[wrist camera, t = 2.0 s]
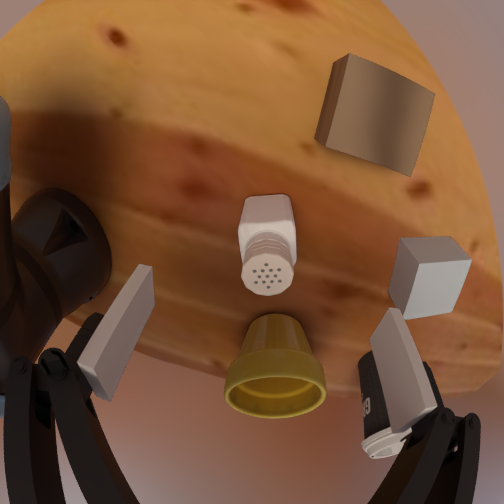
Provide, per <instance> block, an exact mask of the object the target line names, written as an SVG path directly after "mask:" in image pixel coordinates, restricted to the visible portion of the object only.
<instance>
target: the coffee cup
mask: <svg viewBox="0 0 504 504" xmlns="http://www.w3.org/2000/svg"><path fill="white" fill-rule="evenodd" d="M358 368H359V376H360V385H361V395H362V406H363V418H364V436H365V440H364V441H363V442H362V447H363V449H364V451H365V452H367V453H368V455H369V457H370V458H374V459H375V458H384V457H389V456H393V455H395V454H399V452H400V451H401V449H402V447H403V445H404V444H403V443H404V442H405V441H406V439H405V440H404V441H402V442H400V440H401V439H402V438H403V437H405V436H406V435H408V434H409V433H411V432H412V430H411V428H409V429H408V430H406V431H405V432H403V433H397V434H392V430H391V425H390V420H389V416H388V411H387V407H386V402H385V398H384V394H383V389H382V385H381V381H380V377H379V373H378V370H377V366H376V362H375V359H374V355H373V351H370V352H368V353H367V354H366V355H364V356H363V357H362V358H361V359H360V361H359V363H358Z"/></svg>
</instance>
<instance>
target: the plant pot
mask: <svg viewBox="0 0 504 504" xmlns="http://www.w3.org/2000/svg"><path fill="white" fill-rule="evenodd" d="M326 394H327V390H326V382H325V375H324V370H323V367H322V364H321V363H320V361H319V360H318V359H317V358H316V357H314V356H313V353H312V351H311V349H310V346H309V344H308V341H307V339H306V336H305V333H304V331H303V329H302V326H301V325H300V323H299V322H298V321H297V320H296V319H294V318H293V317H291V316H288V315H285V314H277V313H274V314H267V315H263V316H261V317H258V318H257V319H255V320H254V321H253V322H252V323H251V325H250V326H249V329H248V331H247V334H246V337H245V340H244V342H243V345H242V347H241V350H240V353H239V355H238V358H237V359H235V360H234V361H233V362H232V363H231V365H230V366H229V368H228V372H227V376H226V382H225V389H224V397H225V400H226V402H227V403H228V404H229V405H230V406H231V407H232V408H234V409H235V410H237V411H239V412H241V413H244V414H247V415H251V416H255V417H261V418H285V417H293V416H297V415H301V414H304V413H307V412H309V411H311V410H313V409H315V408H317V407H318V406H319V405H320V404H321V403H322V402H323V401H324V399H325V398H326Z"/></svg>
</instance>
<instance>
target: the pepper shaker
mask: <svg viewBox="0 0 504 504" xmlns="http://www.w3.org/2000/svg"><path fill="white" fill-rule="evenodd" d="M238 237H239V245H240V252H241V258H242V263H243V268H242V274H241V278H242V280H243V282H244V284H245V286H246V288H248V289H250V290H251V291H253V292H254V293H256V294H259V295H266V296H271V295H275V294H279V293H282V292H283V291H284V290H285V289H287V288H288V287H289V286H290V285H291V282H292V279H293V276H294V269H293V266H294V265H295V263H296V261H297V254H296V228H295V222H294V216H293V211H292V206H291V201H290V199H289V197H288V196H287V195H284V194H278V195H264V196H252V197H249V198H247V199H246V200H245V203H244V207H243V211H242V215H241V219H240V223H239V228H238Z"/></svg>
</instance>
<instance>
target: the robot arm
mask: <svg viewBox="0 0 504 504" xmlns="http://www.w3.org/2000/svg"><path fill="white" fill-rule="evenodd" d="M10 136H11V112H10V108H9V106H8V104H7V102H6V101H5V100H4V99H3V98H2V97H1V96H0V418H2V417H3V416H4V462H5V474H6V482H7V489H8V495H9V501H10V504H66V502H65V497H64V492H63V487H62V482H61V476H60V471H59V464H58V455H57V445H56V432H55V419H56V423H57V426H58V430H59V433H60V437H61V439H62V443H63V445H64V449H65V452H66V454H67V457H68V460H69V463H70V465H71V468H72V470H73V473H74V475H75V478H76V480H77V482H78V484H79V487H80V489H81V491H82V493H83V495H84V497H85V499H86V501H87V503H88V504H140V503H139V502H138V500H137V498H136V497H135V495H134V493H133V491H132V490H131V488H130V486H129V484H128V483H127V481H126V479H125V477H124V475H123V473H122V471H121V470H120V467H119V466H118V463H117V461H116V459H115V457H114V455H113V453H112V451H111V449H110V446H109V444H108V442H107V439H106V437H105V435H104V432H103V430H102V428H101V425H100V422H99V420H98V417H97V414H96V412H95V409H94V406H93V403H92V400H91V398H90V395H91V393H92V391H93V392H94V393H95V395H96V396H97V397H100V398H102V399H105V400H107V401H110V402H111V400H112V398H113V396H114V393H115V391H116V388H117V386H118V384H119V381H120V379H121V377H122V374H123V372H124V370H125V368H126V365H127V362H128V361H129V359H130V356H131V354H132V352H133V350H134V348H135V345H136V343H137V341H138V339H139V337H140V335H141V333H142V331H143V328H144V326H145V324H146V322H147V320H148V318H149V316H150V314H151V312H152V310H153V308H154V306H155V300H154V286H153V269H152V266H147V265H143V264H139V265H138V266H137V268H136V269H135V271H134V272H133V273H132V275H131V276H130V278H129V279H128V281H127V282H126V284H125V285H124V287H123V288H122V290H121V291H120V293H119V294H118V296H117V297H116V299H115V300H114V302H113V303H112V305H111V306H110V308H109V309H108V311H107V312H106V314H105V315H102V314H99V313H96V312H95V313H94V314H92V315H91V316H89V317H88V318H87V319H86V321H85V322H84V324H83V325H82V328H80V330H79V331H78V334H77V335H76V336H75V338H74V339H73V341H72V342H71V344H70V346H69V347H68V349H67V351H66V352H65V353H64V352H63V351H62V350H61V349H58V348H49V349H47V350H45V351H44V352H43V353H42V354H41V355H40V353H41V351H42V350H43V348H44V347H45V345H46V343H47V341H48V340H49V339H50V337H51V336H52V334H53V332H54V331H55V329H56V328H57V326H58V325H59V323H60V322H61V321H62V319H63V318H64V317H66V316H67V315H69V314H70V313H72V312H73V311H75V310H76V309H77V308H79V307H80V306H81V305H82V304H84V303H87V302H89V301H91V300H92V299H94V298H95V297H96V296H97V295H98V294H99V292H100V291H101V290H102V288H103V287H104V286H105V284H106V283H107V281H108V279H109V276H110V272H111V255H110V249H109V246H108V242H107V239H106V237H105V234H104V232H103V230H102V228H101V226H100V225H99V223H98V221H97V220H96V218H95V217H94V215H93V214H92V213H91V211H90V210H89V209H88V208H87V207H86V206H85V205H84V204H83V203H82V202H81V201H80V200H79V199H77V198H76V197H75V196H73V195H72V194H70V193H68V192H66V191H64V190H61V189H56V188H48V189H44V190H41V191H40V192H38V193H36V194H35V195H33V196H31V197H30V198H28V199H27V200H26V201H25V202H24V203H23V205H22V206H21V207H20V209H19V210H18V212H17V213H16V214H15V216H14V217H13V219H12V220H11V211H10V180H11V171H12V161H11V158H10ZM369 341H370V345H371V348H372V351H373V355H374V359H375V362H376V366H377V370H378V373H379V377H380V381H381V385H382V389H383V394H384V398H385V402H386V407H387V411H388V416H389V420H390V425H391V430H392V434H397V433H403V432H405V431H406V430H408V429H409V428H411V430H412V432H411V433H409V434H408V435H406V436H405V437H403V438H402V439H401V440H400V442H402V441H404V440H405V439H406V441H405V442H404V443H403V444H404V445H403V447H402V449H401V451H400V452H399V454H398V456H397V458H396V460H395V462H394V463H393V465H392V467H391V469H390V470H389V472H388V474H387V475H386V477H385V478H384V480H383V482H382V483H381V485H380V486H379V488H378V489H377V491H376V492H375V494H374V495H373V497H372V498H371V500H370V501H369V502H368V504H472V501H473V496H474V491H475V485H476V479H477V472H478V463H479V451H480V433H481V431H480V429H481V424H480V419H479V418H478V416H477V415H476V414H474V413H469V414H468V415H467V416H465V417H464V418H463V417H458V416H455V415H454V413H453V411H451V409H449V408H445V407H444V405H443V402H442V399H441V396H440V393H439V390H438V387H437V384H436V382H435V379H434V378H433V377H434V376H433V373H432V371H431V368H430V367H429V366H428V364H427V363H426V362H422V361H421V358H420V356H419V353H418V351H417V348H416V346H415V343H414V341H413V338H412V336H411V334H410V331H409V329H408V327H407V325H406V322H405V320H404V318H403V316H402V313H401V311H400V309H397V308H388V310H387V312H386V314H385V315H384V317H383V318H382V320H381V322H380V323H379V325H378V327H377V328H376V330H375V331H374V333H373V334H372V336H371V337H370V339H369ZM39 355H40V357H39V361H38V364H34V363H35V361H36V360H37V358H38V356H39ZM456 446H458V449H457V451H456V452H454V448H455V447H456Z"/></svg>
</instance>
